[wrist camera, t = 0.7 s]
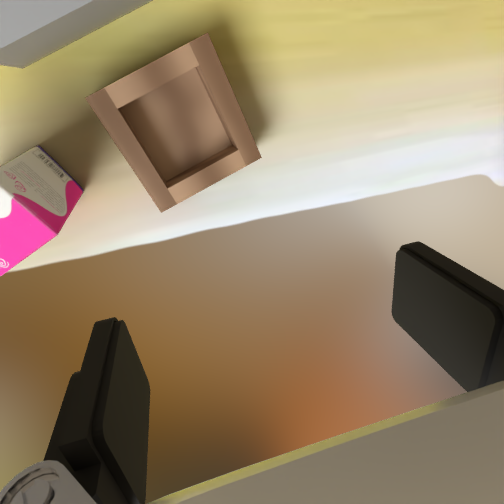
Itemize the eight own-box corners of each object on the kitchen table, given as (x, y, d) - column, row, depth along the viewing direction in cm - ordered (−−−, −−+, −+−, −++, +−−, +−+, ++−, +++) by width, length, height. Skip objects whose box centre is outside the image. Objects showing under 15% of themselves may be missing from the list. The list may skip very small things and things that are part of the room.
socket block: (159, 200, 37) (161, 212, 33) (91, 96, 31) (84, 97, 27) (250, 151, 37) (261, 157, 34) (200, 38, 31) (207, 32, 28)
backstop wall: (22, 68, 29) (-24, 61, 21) (4, 43, 28) (-52, 25, 20) (184, -17, 29) (198, -55, 21) (172, -44, 28) (182, -94, 20)
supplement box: (-10, 180, 32) (-81, 222, 22) (39, 143, 31) (-11, 168, 21) (41, 224, 34) (-1, 279, 25) (86, 190, 34) (62, 232, 24)
